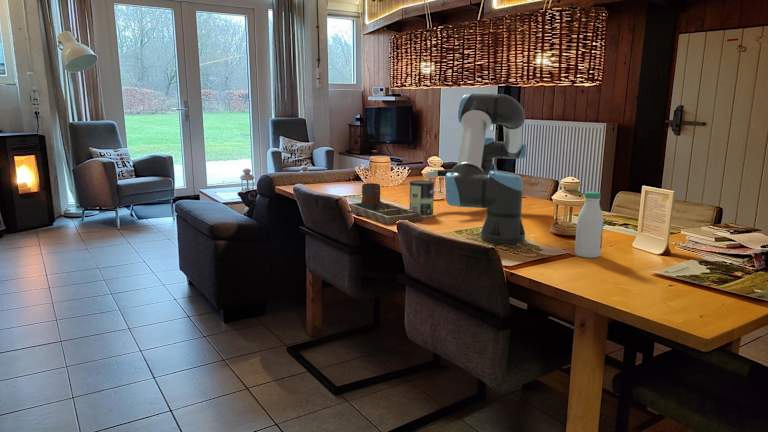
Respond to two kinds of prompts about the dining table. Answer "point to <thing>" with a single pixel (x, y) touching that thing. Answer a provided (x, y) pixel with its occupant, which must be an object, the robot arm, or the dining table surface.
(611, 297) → the dining table surface
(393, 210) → the caddy
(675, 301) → the dining table surface
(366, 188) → the mug
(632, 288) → the dining table surface
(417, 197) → the coffee can
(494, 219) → the robot arm
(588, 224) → the milk bottle
